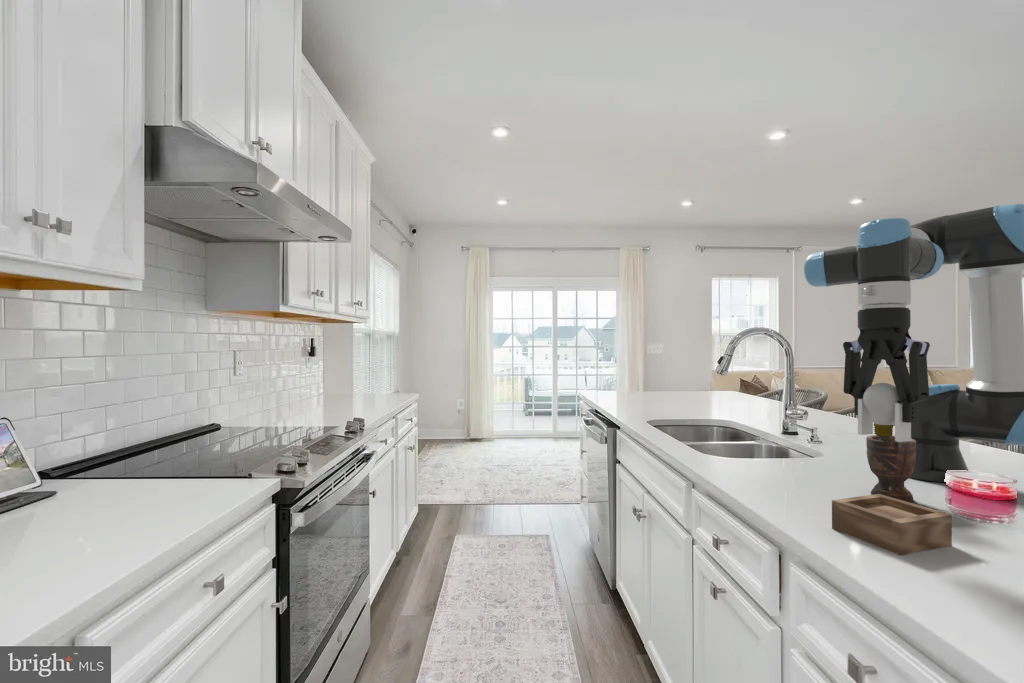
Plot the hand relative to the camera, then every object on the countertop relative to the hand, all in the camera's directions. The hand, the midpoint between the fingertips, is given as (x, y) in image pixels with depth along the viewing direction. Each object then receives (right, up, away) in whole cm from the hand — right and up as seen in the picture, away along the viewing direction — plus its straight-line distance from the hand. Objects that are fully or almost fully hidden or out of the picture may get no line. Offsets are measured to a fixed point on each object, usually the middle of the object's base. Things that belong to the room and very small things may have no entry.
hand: (883, 437), depth 87 cm
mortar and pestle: (+16, -17, +19) cm, 30 cm away
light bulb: (0, 0, 0) cm, 0 cm away
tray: (0, -17, -1) cm, 17 cm away
